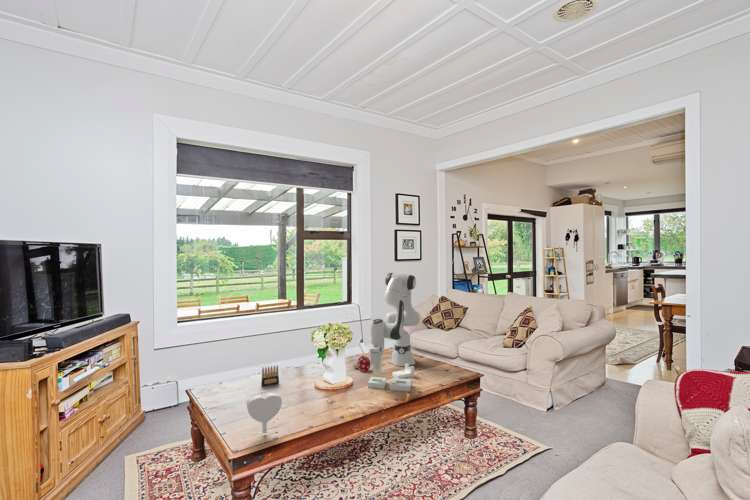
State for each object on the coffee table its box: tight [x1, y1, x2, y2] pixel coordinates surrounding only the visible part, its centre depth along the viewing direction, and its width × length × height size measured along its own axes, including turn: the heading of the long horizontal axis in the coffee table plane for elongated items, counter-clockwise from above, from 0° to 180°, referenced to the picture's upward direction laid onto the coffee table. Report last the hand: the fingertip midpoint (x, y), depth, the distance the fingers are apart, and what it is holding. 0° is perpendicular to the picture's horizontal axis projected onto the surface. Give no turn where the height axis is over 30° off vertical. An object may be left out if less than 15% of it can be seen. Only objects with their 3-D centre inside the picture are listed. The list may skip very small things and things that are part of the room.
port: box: [389, 377, 413, 394], centre depth 233 cm, size 12×12×5 cm
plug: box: [372, 358, 383, 376], centre depth 236 cm, size 3×5×11 cm, turn 78°
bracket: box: [391, 364, 415, 379], centre depth 253 cm, size 13×7×8 cm, turn 120°
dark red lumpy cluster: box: [352, 355, 372, 373], centre depth 267 cm, size 11×11×15 cm
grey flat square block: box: [367, 376, 387, 390], centre depth 236 cm, size 10×10×4 cm
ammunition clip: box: [260, 364, 280, 387], centre depth 238 cm, size 11×2×12 cm, turn 118°
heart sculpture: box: [246, 392, 283, 434], centre depth 178 cm, size 16×5×18 cm, turn 116°
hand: (377, 367), depth 236 cm, fingers closed on plug, 3 cm apart
